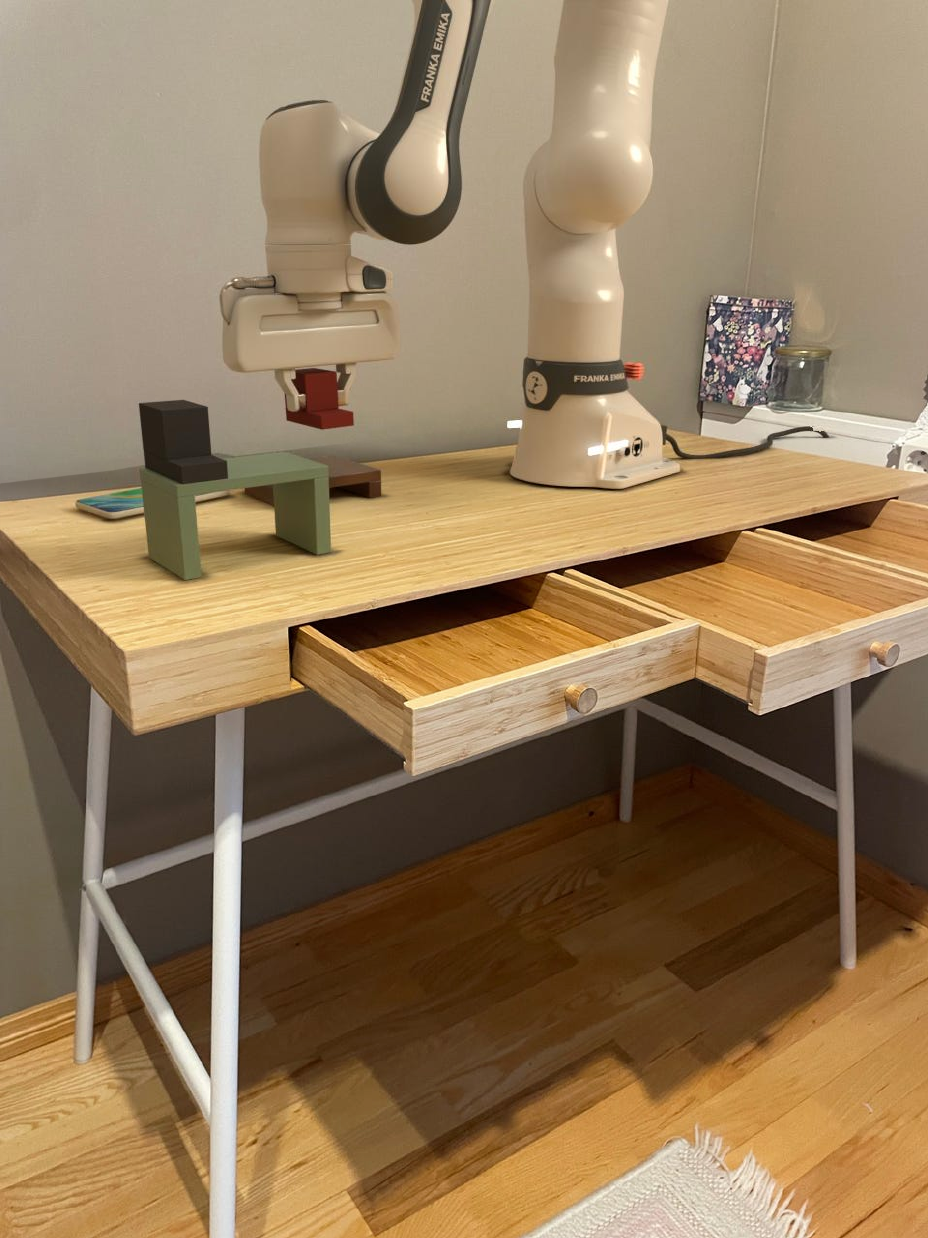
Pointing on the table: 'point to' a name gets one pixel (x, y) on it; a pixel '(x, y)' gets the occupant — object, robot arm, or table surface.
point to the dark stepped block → (179, 442)
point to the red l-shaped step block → (319, 400)
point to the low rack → (335, 479)
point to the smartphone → (126, 503)
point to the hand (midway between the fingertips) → (319, 408)
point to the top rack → (293, 487)
